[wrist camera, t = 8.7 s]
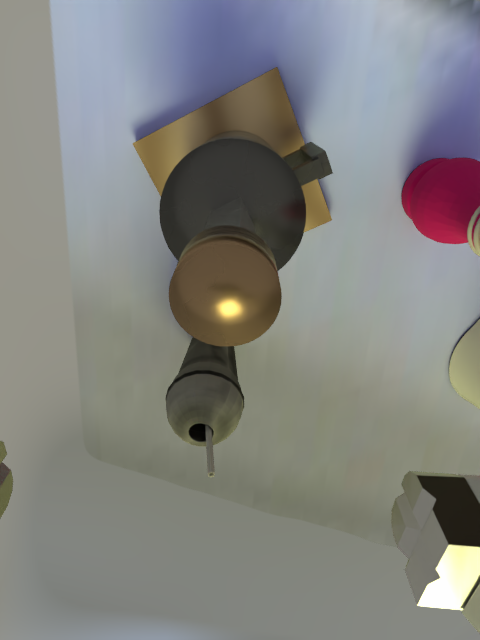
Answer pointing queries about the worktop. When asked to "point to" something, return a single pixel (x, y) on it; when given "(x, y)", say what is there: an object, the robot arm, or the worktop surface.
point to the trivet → (234, 115)
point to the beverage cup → (205, 397)
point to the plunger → (226, 281)
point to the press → (242, 190)
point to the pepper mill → (445, 200)
